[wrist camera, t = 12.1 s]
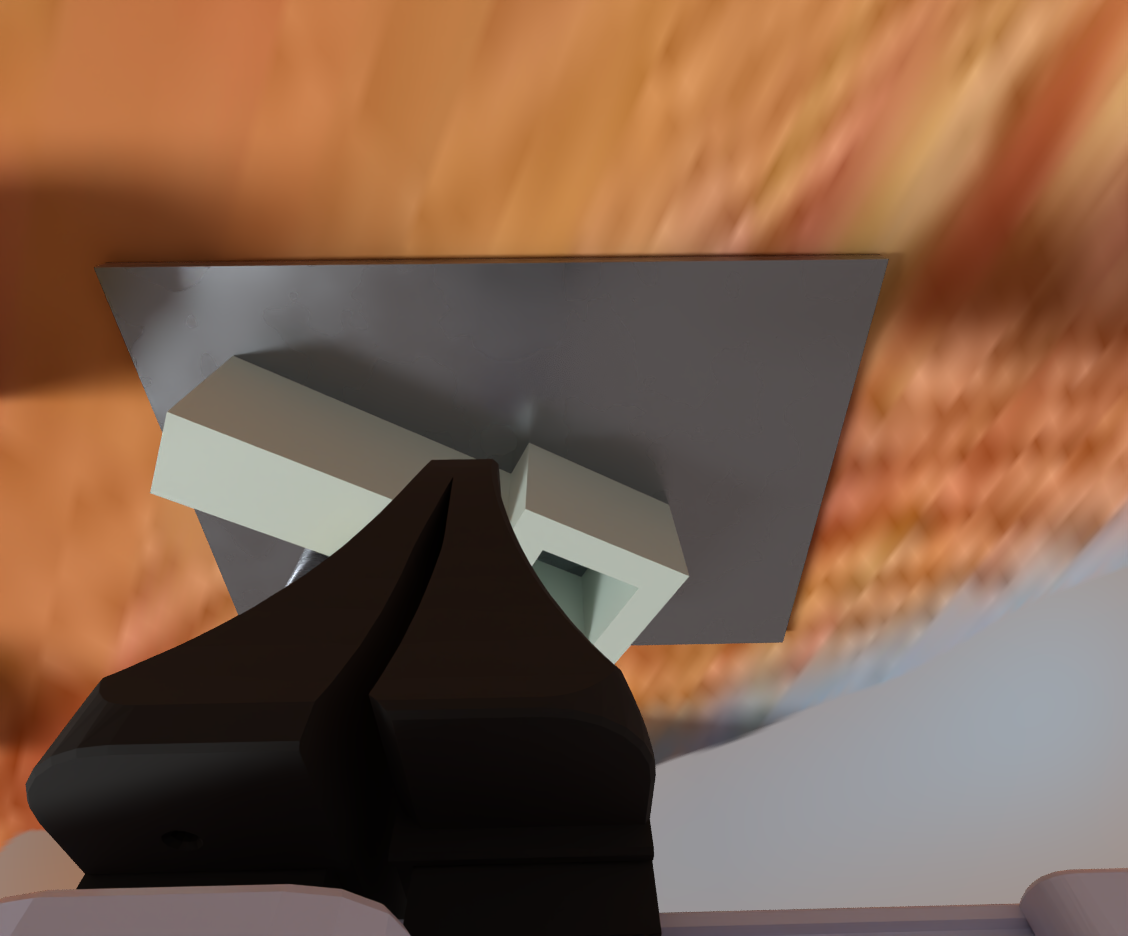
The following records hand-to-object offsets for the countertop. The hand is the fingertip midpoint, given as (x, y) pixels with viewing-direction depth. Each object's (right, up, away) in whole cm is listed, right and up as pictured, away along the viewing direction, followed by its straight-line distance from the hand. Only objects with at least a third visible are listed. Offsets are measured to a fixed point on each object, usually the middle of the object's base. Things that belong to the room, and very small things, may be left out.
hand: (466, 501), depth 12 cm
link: (-3, 0, +10) cm, 11 cm away
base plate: (0, 0, +11) cm, 11 cm away
